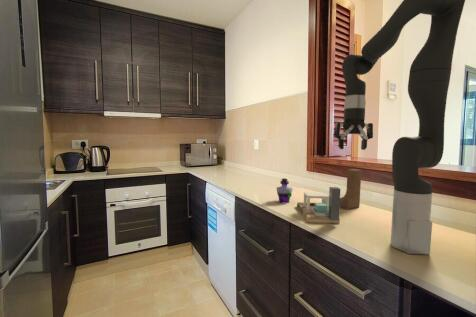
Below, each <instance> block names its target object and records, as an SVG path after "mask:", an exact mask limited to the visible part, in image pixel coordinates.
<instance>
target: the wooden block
mask: <svg viewBox="0 0 476 317" xmlns="http://www.w3.org/2000/svg"><path fill="white" fill-rule="evenodd" d="M346 174H347V176H346V191H345V194H344V196H342V197H340V208H341V209H345V210H351V209H356V208H360V205H361V202H360V201H361V184H362V170H361V169H356V168H351V169H347V172H346Z"/></svg>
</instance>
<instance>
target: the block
mask: <svg viewBox="0 0 476 317" xmlns="http://www.w3.org/2000/svg"><path fill="white" fill-rule="evenodd" d="M314 203H315V208H314V210H315V211H316V212H327V207H328V206H327V205H326V204H325V203H322V202H314Z"/></svg>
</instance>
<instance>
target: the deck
mask: <svg viewBox="0 0 476 317" xmlns="http://www.w3.org/2000/svg"><path fill="white" fill-rule="evenodd" d="M315 203H316V202H310V211H307V203H306V207H304V202H303V201H302V202H297V203H296V206H297V208H298V210H299V212H301V214H302V215H303V217H304V218H305V220H306V221H307V222H308V223H314V222H315V223H321V224H323V223H324V224H340V222H341V220H340V219H341V218H340V217H339V221H336V220H330V219H329V218H328V217H321V216H314V215H313V213H312V212H311V208H315Z"/></svg>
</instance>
